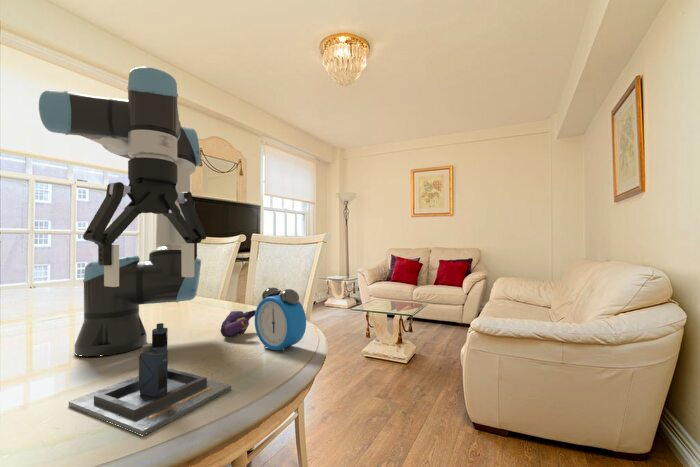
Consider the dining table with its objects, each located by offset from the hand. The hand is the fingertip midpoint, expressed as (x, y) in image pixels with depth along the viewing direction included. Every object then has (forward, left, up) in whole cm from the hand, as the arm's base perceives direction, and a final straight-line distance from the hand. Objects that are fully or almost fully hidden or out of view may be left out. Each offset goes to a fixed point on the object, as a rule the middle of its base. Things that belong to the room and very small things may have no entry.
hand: (153, 281), depth 58 cm
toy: (-16, +35, -20) cm, 44 cm away
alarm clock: (+3, +31, -20) cm, 37 cm away
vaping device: (0, 0, -20) cm, 20 cm away
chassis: (0, 0, -20) cm, 20 cm away
